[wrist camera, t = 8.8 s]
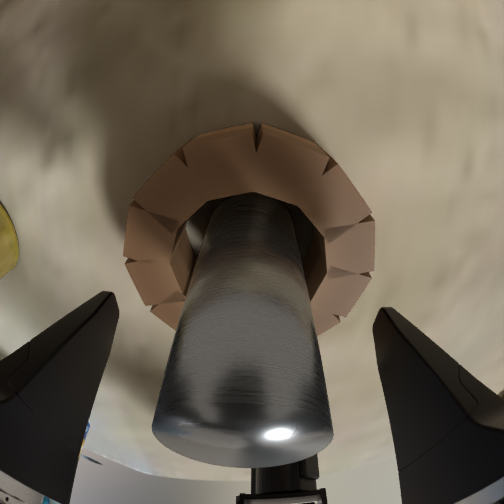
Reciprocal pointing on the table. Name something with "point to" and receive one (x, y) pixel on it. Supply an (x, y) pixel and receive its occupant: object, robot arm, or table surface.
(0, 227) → the vase
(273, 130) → the bead ring
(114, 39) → the table surface
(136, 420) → the table surface
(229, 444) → the grey metal cylinder
